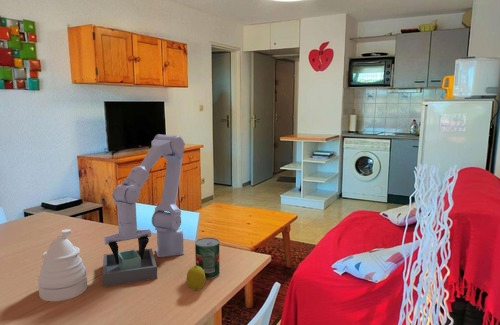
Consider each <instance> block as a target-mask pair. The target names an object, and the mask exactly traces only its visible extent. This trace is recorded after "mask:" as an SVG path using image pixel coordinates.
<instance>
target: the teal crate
mask: <svg viewBox="0 0 500 325" xmlns="http://www.w3.org/2000/svg"><path fill="white" fill-rule="evenodd" d="M118 258H119V264H118V267H119V269H120V270H128V269H135V268H141V257H140V256H139V254H138V253H137V252H136V249H135V248H134V249H129V250H123V251H118Z"/></svg>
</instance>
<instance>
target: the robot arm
mask: <svg viewBox="0 0 500 325" xmlns="http://www.w3.org/2000/svg"><path fill="white" fill-rule="evenodd" d="M150 144H151V147H150V148H149V150H148V151H147V154H146V155H145V156H144V158H143V160H142V161H141V163H140V165H138V166H137V165H136V166H134V167H132V168H131V169H130V172H129V174H128V175H127V177H126V178H125V179H124V180H123V181H122V183H120V184H117V186H116V187H115V188H114V189H113V192H112V194H111V196H112V199H113V200H114V202H115V206H116V210H117V225H118V227H117V228H118V230H117V231H118V232H117V233H115V234H112V235H108V236H104V237H103V243H104V245H105V246H106V245H108V246H109V248H110V250H111V253H113V255H114V258H115V262H116V264H119V258H118V252H119V245H118V243H119V242H123V241H124V242H125V241H131V240H136V239H137V242H138V250H139V256H140V257H141V259H143V255H144V251H145V249H147V248H146V247H147V246H148V244H149V241H150V238H151V237H152V231H151V229H142V230H139V229H138V224H137V223H138V222H137V201H138V200H139V199H140V194H141V193H140V192H141V190H142V188H143V186H144V184H145V183H146V182H147V180H148V179H149V177H150V170H152V168H153V167H154V166H155V164H156V163H157V162H158V161H159V160H160V158H161V157H163V158H165V161H166V166H165V167H166V169H165V176H164V179H163V180H164V181H163V189H162V194H161V195H162V196H161V200H160V201H161V202H160V203H159V204H158V205H157V206H156V207H154V212H153V214H152V217H151V224H152V226H153V227H154V230H155V231H156V244H157V246H156V247H157V248H155V252H156V253H155V254H156V255H157V256H156V258H167V257H173V256H181V255H184V254H185V253H184V251H185V250H184V233H183V229H182V228H181V227H180V226H181V225H182V217H181V215H182V214H181V213H182V210H181V209H180V208H179V207H178V206H177V201H178V200H177V198H178V192H179V185H180V179H181V178H180V177H181V173H182V165H183V158H184V150H185V145H186V143H185V141H184V139H183V138H182V136H181V135H177V134H175V135H171V134H160V133H158V134H156V135H155V136H154V138H153V140H151V143H150Z"/></svg>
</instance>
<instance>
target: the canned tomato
mask: <svg viewBox="0 0 500 325" xmlns="http://www.w3.org/2000/svg"><path fill="white" fill-rule="evenodd" d="M194 244H195V245H194V246H195V247H194V248H195V249H194V250H195V257H194V258H195V265H197V266H199V267H201V268H202V269H203V270H204V273H205V280H211V279H214V278H217V277H219V276H220V273H221V272H220V267H221V266H220V240H219V239H218V238H214V237H202V238H198V239H197V240H195V243H194Z"/></svg>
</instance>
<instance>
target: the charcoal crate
mask: <svg viewBox="0 0 500 325" xmlns="http://www.w3.org/2000/svg"><path fill="white" fill-rule="evenodd" d="M135 250H136V249H135ZM136 252H137V253H138V254H139V249H137V250H136ZM102 258H103V259H102V260H103V261H102V262H103V263H102V286H103V288H104V287H105V288H106V287H111V286H117V285H124V284H125V285H126V284H130V283H131V284H132V283H137V282H143V281H149V280H150V281H151V280H157V279H158V268H157V262H156V258H155V255H154V252H153V248H145V251H144V255H143V259H141V268H135V269H128V270H120V269H119V267H118V264H116V262H115V258H114V255H113V252H111V253H105V254H103V256H102Z"/></svg>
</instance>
